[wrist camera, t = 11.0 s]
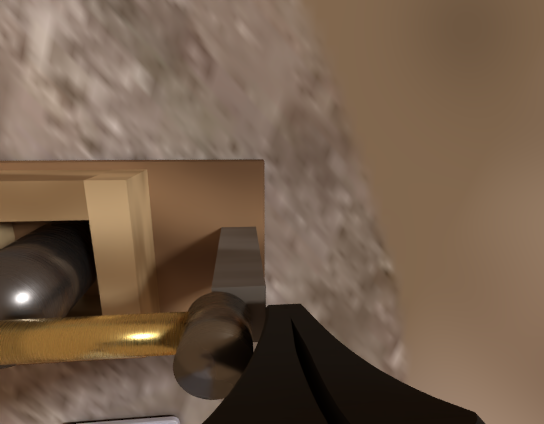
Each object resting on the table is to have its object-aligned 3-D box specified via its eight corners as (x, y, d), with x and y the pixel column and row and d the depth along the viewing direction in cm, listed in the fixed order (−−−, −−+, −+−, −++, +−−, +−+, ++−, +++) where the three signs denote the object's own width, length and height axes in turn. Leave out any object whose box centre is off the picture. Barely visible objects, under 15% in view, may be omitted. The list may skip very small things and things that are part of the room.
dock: (263, 310, 22) (277, 418, 14) (-12, 324, 21) (-174, 454, 13) (263, 159, 20) (280, 185, 12) (-52, 161, 18) (-288, 192, 10)
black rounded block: (46, 287, 19) (-53, 377, 13) (24, 222, 18) (-96, 281, 11) (117, 277, 20) (58, 359, 13) (100, 212, 18) (26, 264, 12)
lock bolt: (251, 345, 13) (254, 397, 10) (4, 359, 12) (-55, 418, 10) (250, 288, 12) (253, 329, 10) (-11, 300, 11) (-78, 347, 9)
